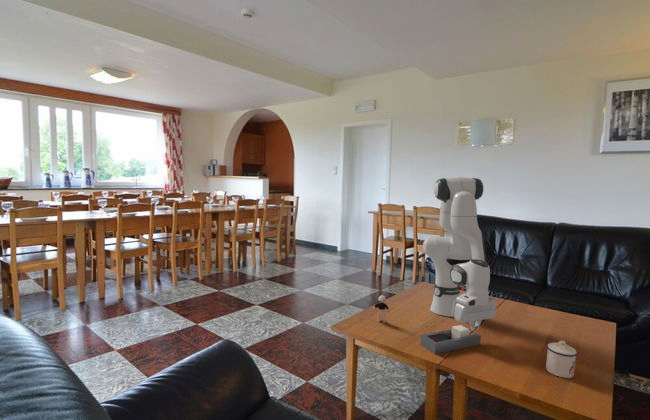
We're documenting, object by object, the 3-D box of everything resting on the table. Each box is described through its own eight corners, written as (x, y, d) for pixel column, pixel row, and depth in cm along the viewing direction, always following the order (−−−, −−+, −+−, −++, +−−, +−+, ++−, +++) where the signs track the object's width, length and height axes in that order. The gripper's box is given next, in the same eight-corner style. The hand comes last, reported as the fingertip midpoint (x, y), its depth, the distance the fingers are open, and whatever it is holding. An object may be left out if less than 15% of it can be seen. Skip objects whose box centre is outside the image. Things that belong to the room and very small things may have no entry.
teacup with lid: (575, 381, 126) (579, 349, 124) (545, 373, 130) (548, 343, 129) (572, 366, 136) (575, 337, 135) (544, 359, 140) (547, 331, 139)
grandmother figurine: (388, 320, 173) (390, 294, 172) (389, 323, 169) (390, 297, 168) (372, 319, 174) (373, 293, 173) (372, 322, 170) (374, 296, 169)
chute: (464, 335, 159) (464, 326, 159) (480, 344, 151) (480, 335, 151) (420, 344, 150) (421, 335, 149) (434, 354, 142) (435, 344, 141)
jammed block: (459, 336, 156) (460, 325, 155) (468, 341, 151) (469, 329, 151) (450, 337, 154) (451, 326, 153) (459, 343, 149) (460, 331, 149)
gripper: (489, 293, 161) (486, 324, 162) (453, 298, 153) (450, 329, 154) (500, 298, 155) (498, 329, 156) (464, 302, 147) (461, 335, 148)
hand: (474, 329), depth 155 cm, fingers closed
